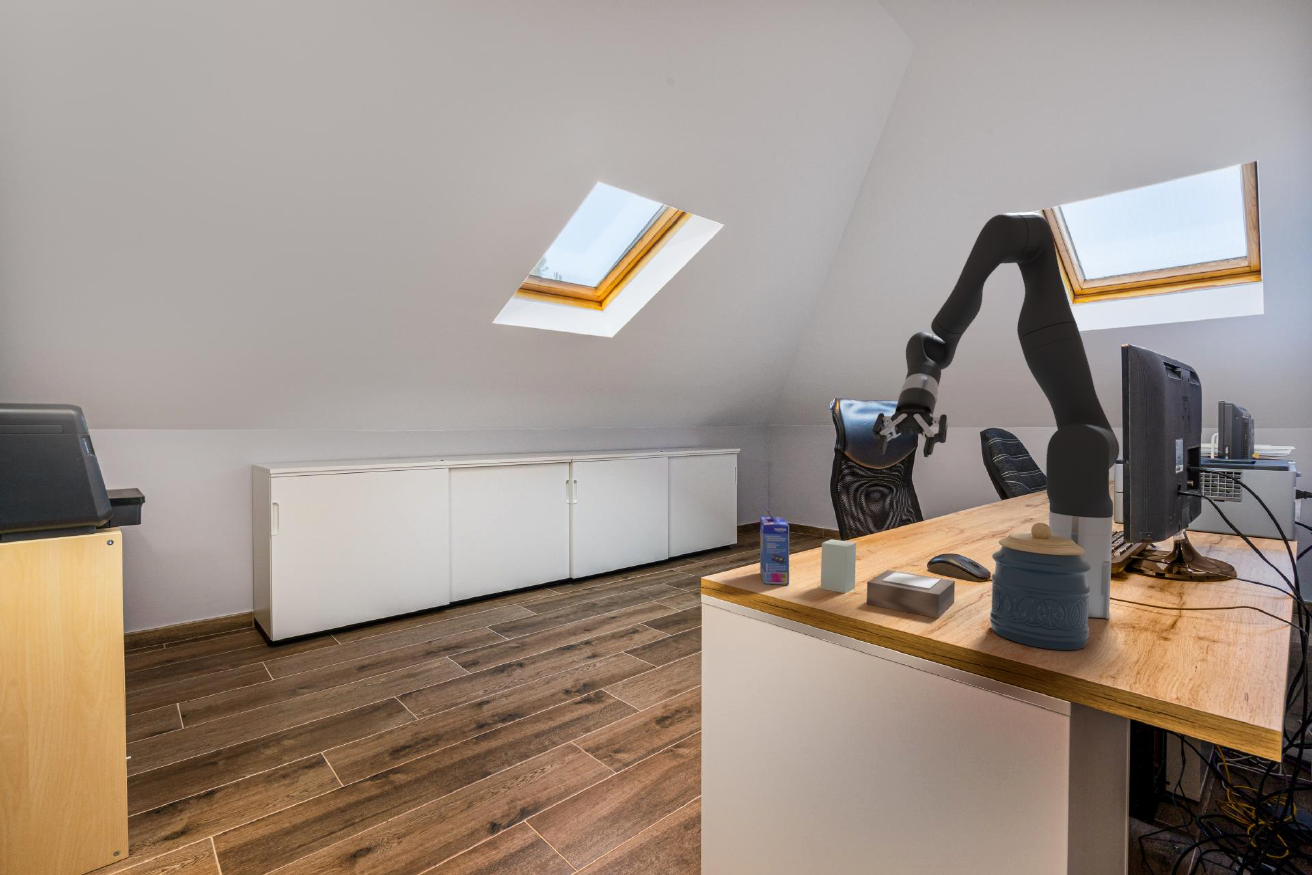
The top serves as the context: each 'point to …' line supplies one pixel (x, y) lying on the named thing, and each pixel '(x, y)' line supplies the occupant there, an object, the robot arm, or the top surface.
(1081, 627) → the canister
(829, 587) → the sage block
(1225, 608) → the top surface
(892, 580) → the walnut plinth
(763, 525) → the ink cartridge box
